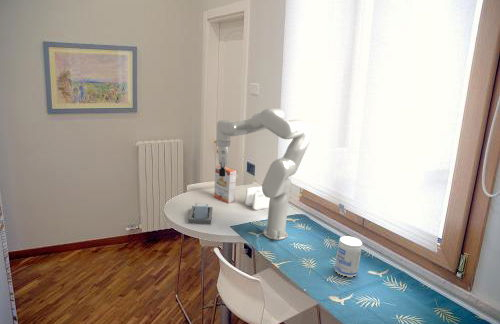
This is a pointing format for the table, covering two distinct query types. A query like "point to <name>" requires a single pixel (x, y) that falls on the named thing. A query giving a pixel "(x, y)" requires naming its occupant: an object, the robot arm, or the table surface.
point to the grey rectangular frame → (200, 221)
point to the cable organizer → (256, 198)
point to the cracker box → (225, 185)
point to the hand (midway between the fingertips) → (222, 176)
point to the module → (201, 211)
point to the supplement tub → (348, 256)
